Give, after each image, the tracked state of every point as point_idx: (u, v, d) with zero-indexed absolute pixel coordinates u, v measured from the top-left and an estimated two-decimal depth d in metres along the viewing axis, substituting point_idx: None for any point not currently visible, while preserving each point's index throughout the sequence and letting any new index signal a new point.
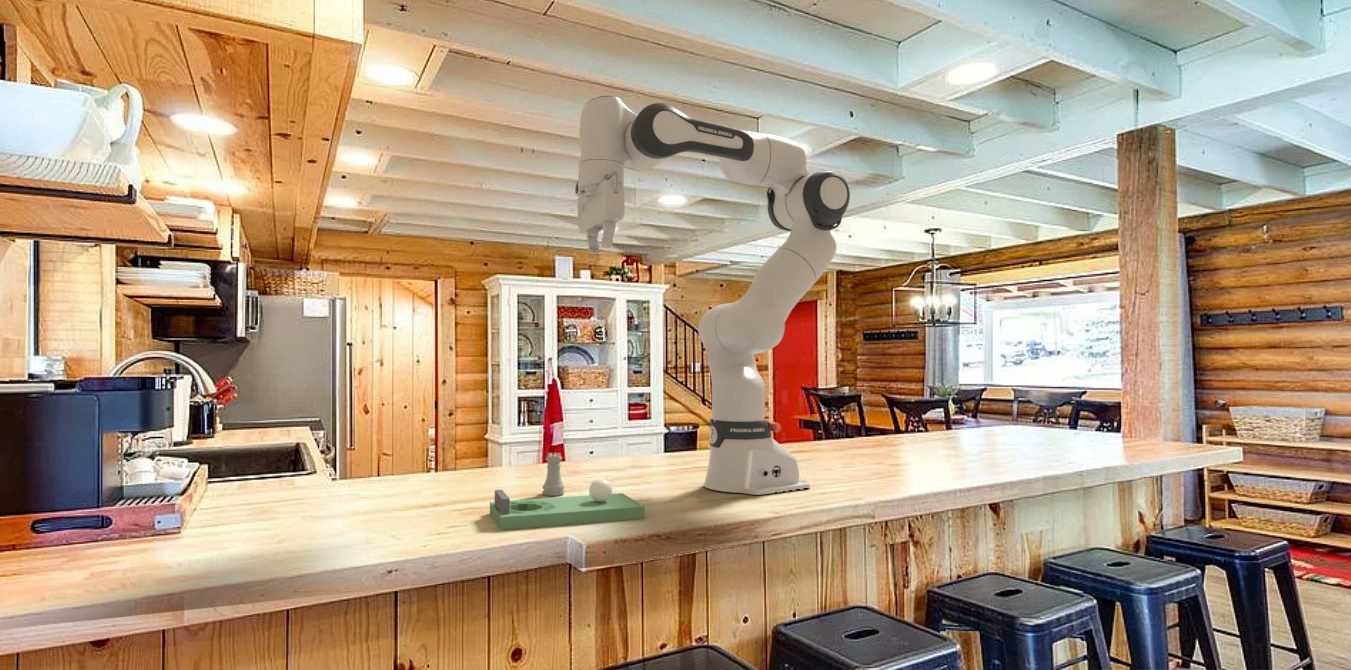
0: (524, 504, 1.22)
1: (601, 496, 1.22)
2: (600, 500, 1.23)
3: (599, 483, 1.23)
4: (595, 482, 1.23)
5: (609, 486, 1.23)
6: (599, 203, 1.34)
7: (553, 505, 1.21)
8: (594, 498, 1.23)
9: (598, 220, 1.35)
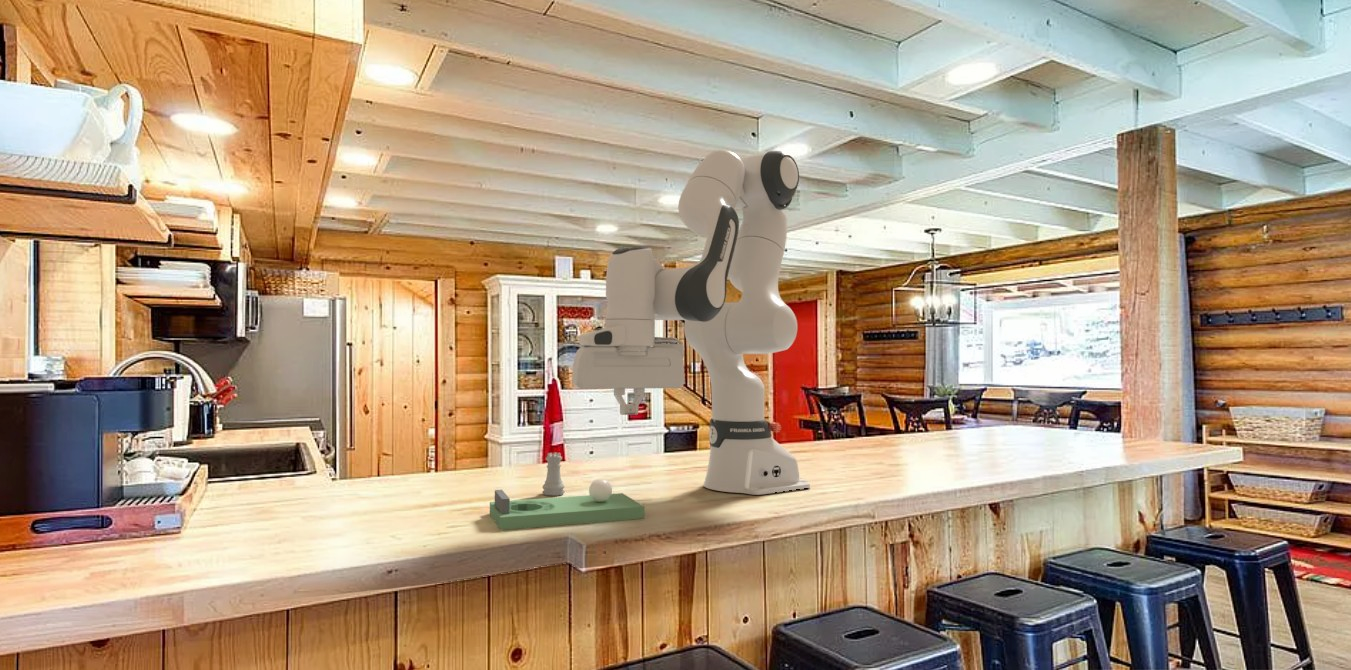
0: (524, 504, 1.22)
1: (601, 496, 1.22)
2: (600, 500, 1.23)
3: (599, 483, 1.23)
4: (595, 482, 1.23)
5: (609, 486, 1.23)
6: (660, 369, 1.27)
7: (553, 505, 1.21)
8: (594, 498, 1.23)
9: (656, 386, 1.27)
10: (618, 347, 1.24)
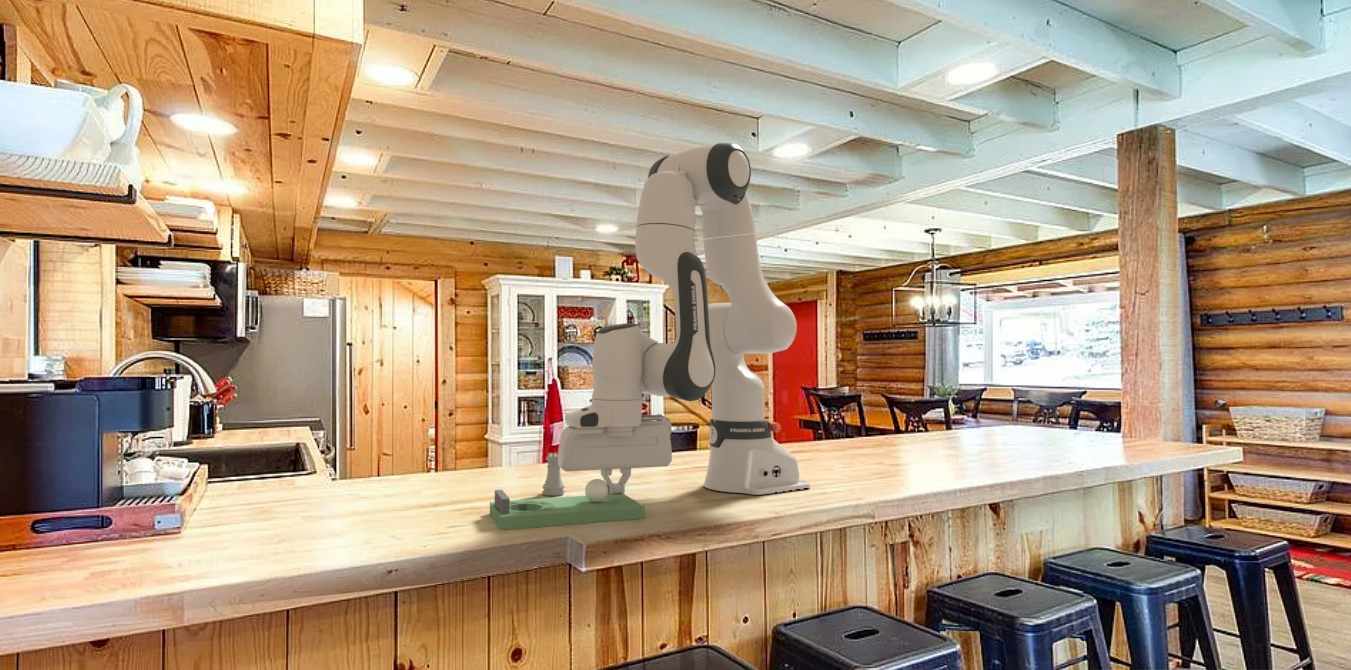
0: (524, 504, 1.22)
1: (598, 497, 1.22)
2: (599, 500, 1.23)
3: (593, 485, 1.22)
4: (588, 485, 1.23)
5: (603, 484, 1.23)
6: (647, 448, 1.26)
7: (553, 505, 1.21)
8: (593, 500, 1.23)
9: (643, 465, 1.25)
10: (604, 427, 1.23)
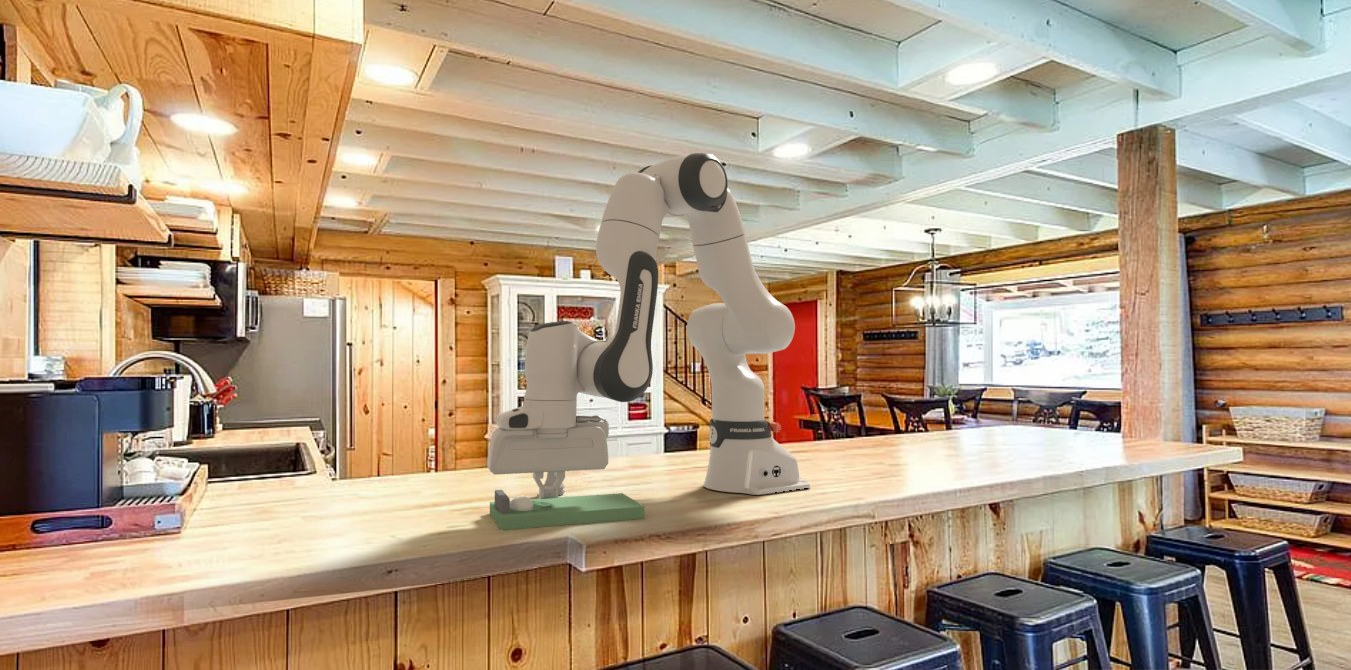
0: None
1: None
2: None
3: (513, 507, 1.17)
4: None
5: (522, 500, 1.18)
6: (582, 450, 1.21)
7: (553, 505, 1.21)
8: None
9: (577, 468, 1.21)
10: (536, 429, 1.18)
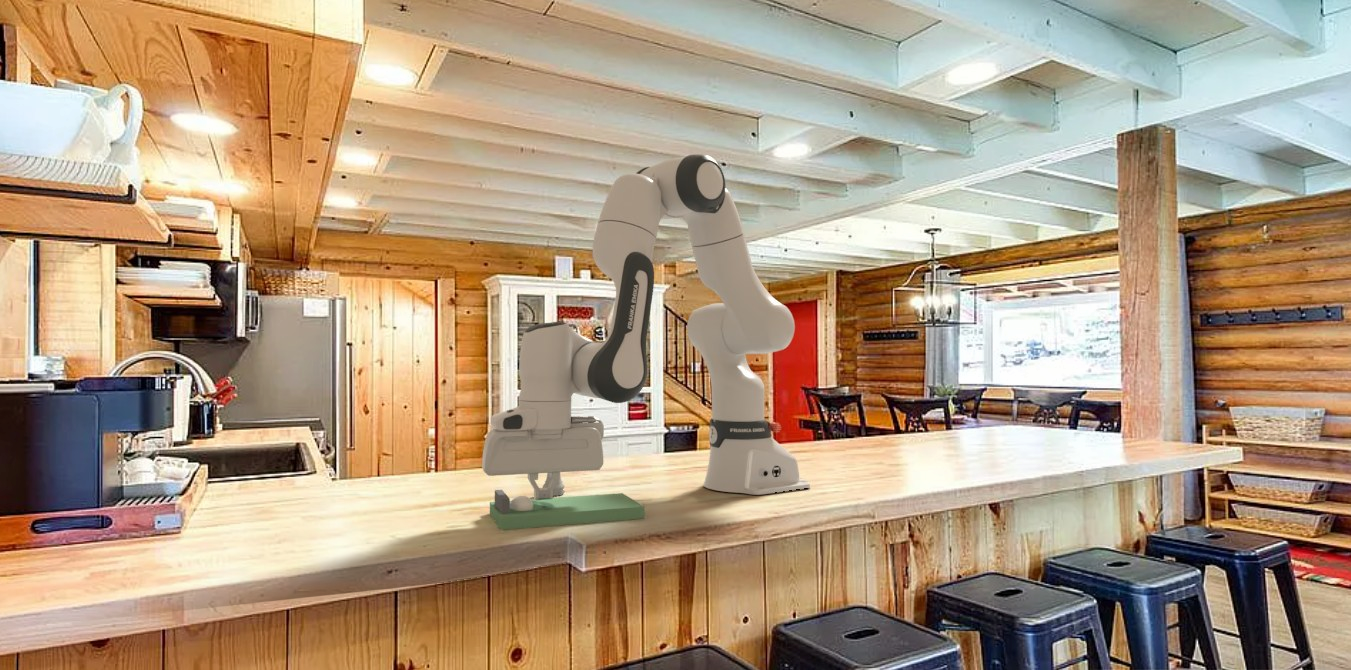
0: None
1: None
2: None
3: (513, 507, 1.17)
4: None
5: (522, 500, 1.18)
6: (577, 451, 1.21)
7: (553, 505, 1.21)
8: None
9: (572, 469, 1.21)
10: (530, 430, 1.18)
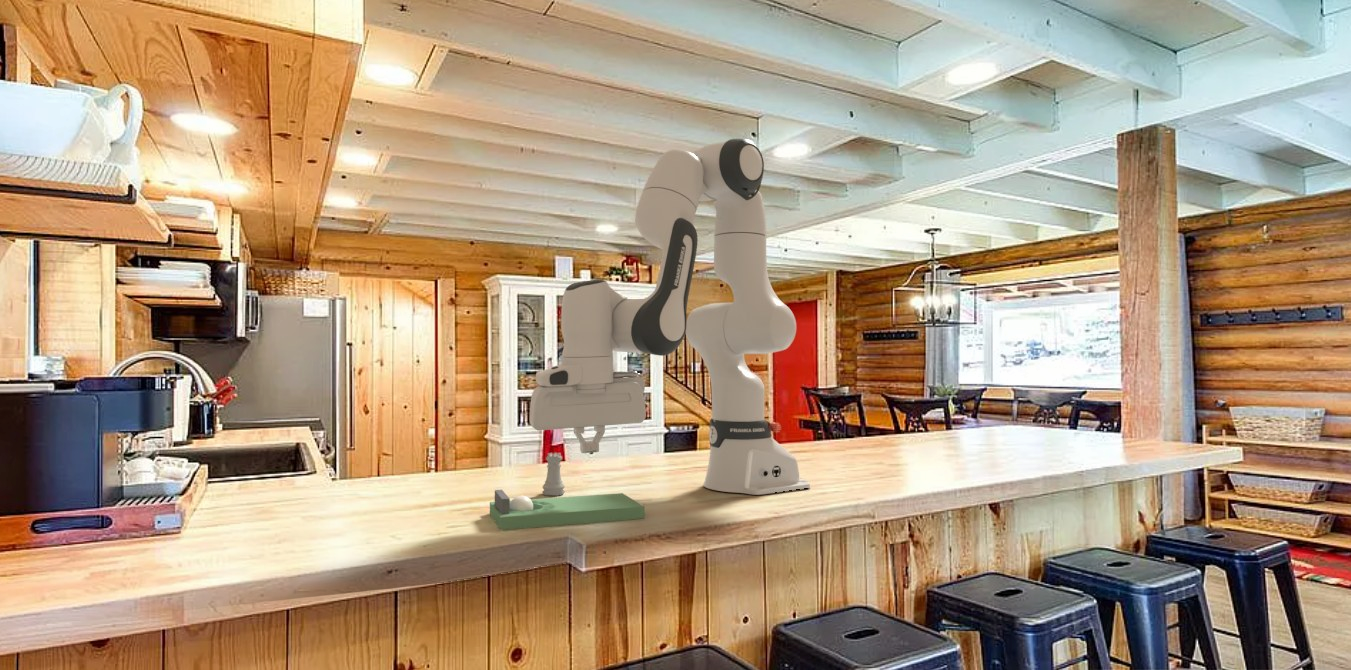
0: None
1: None
2: None
3: (513, 507, 1.17)
4: None
5: (522, 500, 1.18)
6: (620, 405, 1.24)
7: (553, 505, 1.21)
8: None
9: (617, 422, 1.24)
10: (575, 385, 1.21)
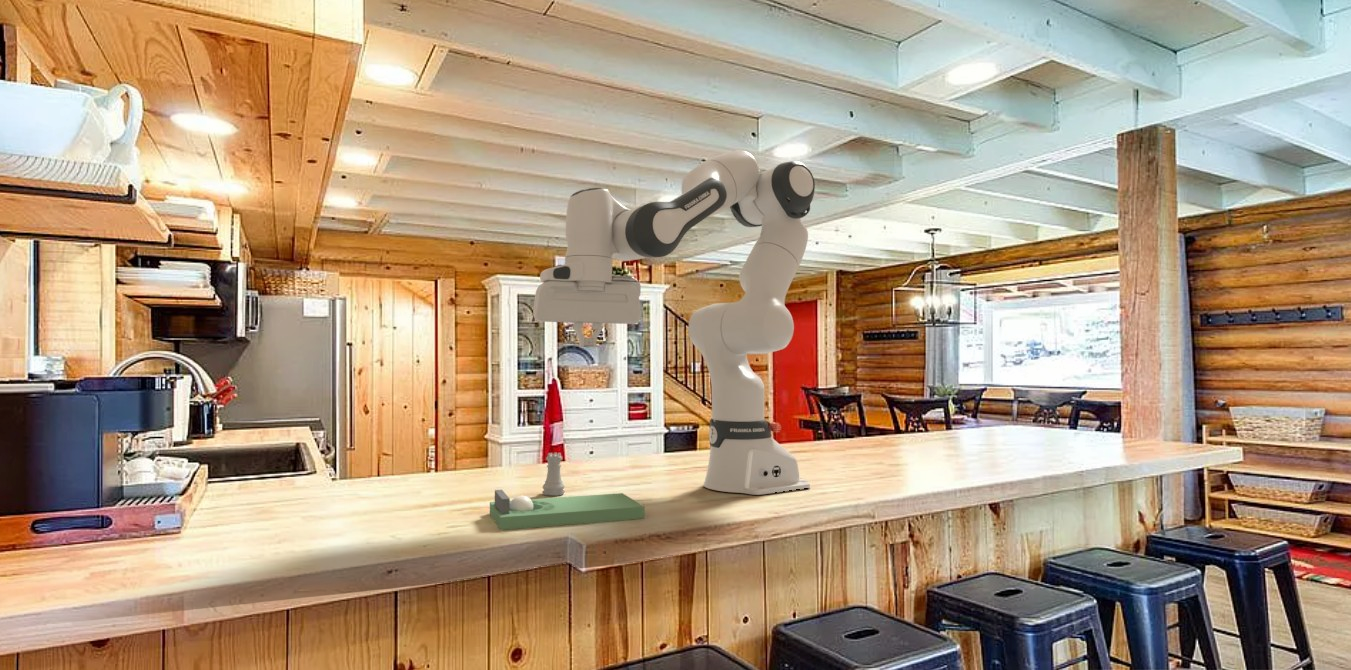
0: None
1: None
2: None
3: (513, 507, 1.17)
4: (510, 508, 1.18)
5: (522, 500, 1.18)
6: (617, 304, 1.34)
7: (553, 505, 1.21)
8: None
9: (613, 321, 1.34)
10: (576, 282, 1.32)
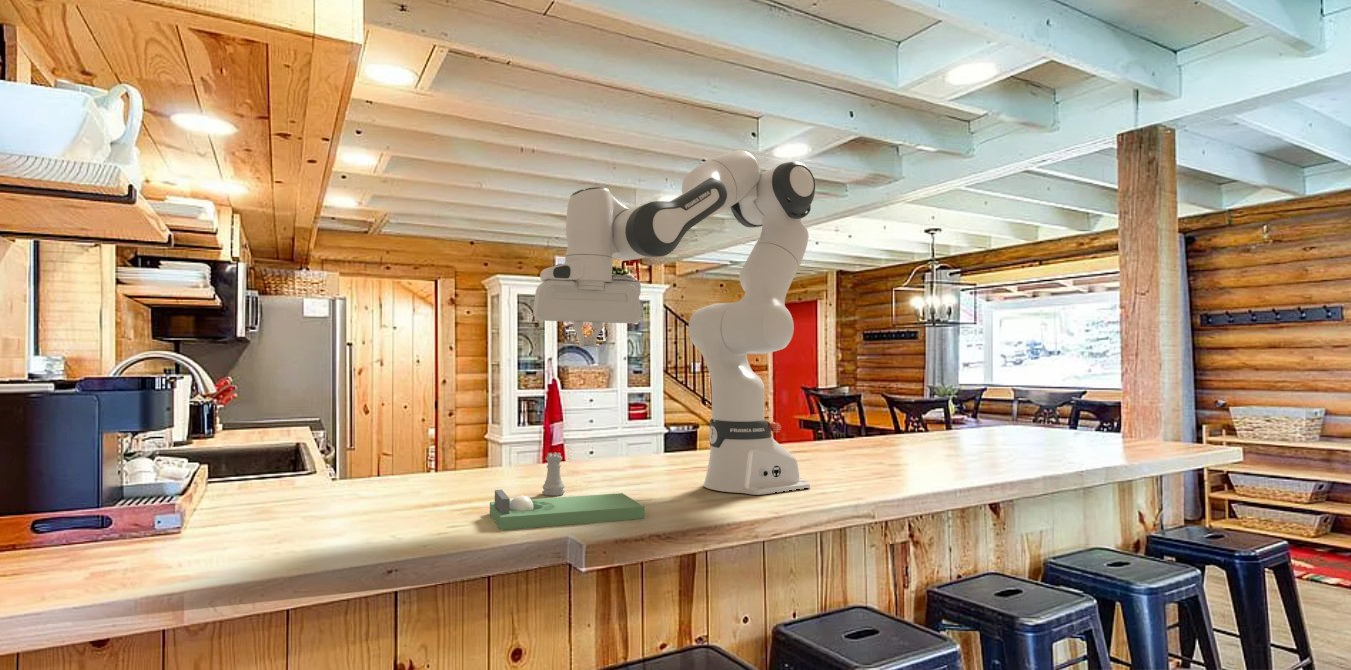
0: None
1: None
2: None
3: (513, 507, 1.17)
4: (510, 508, 1.18)
5: (522, 500, 1.18)
6: (617, 304, 1.35)
7: (553, 505, 1.21)
8: None
9: (613, 320, 1.34)
10: (577, 282, 1.32)
